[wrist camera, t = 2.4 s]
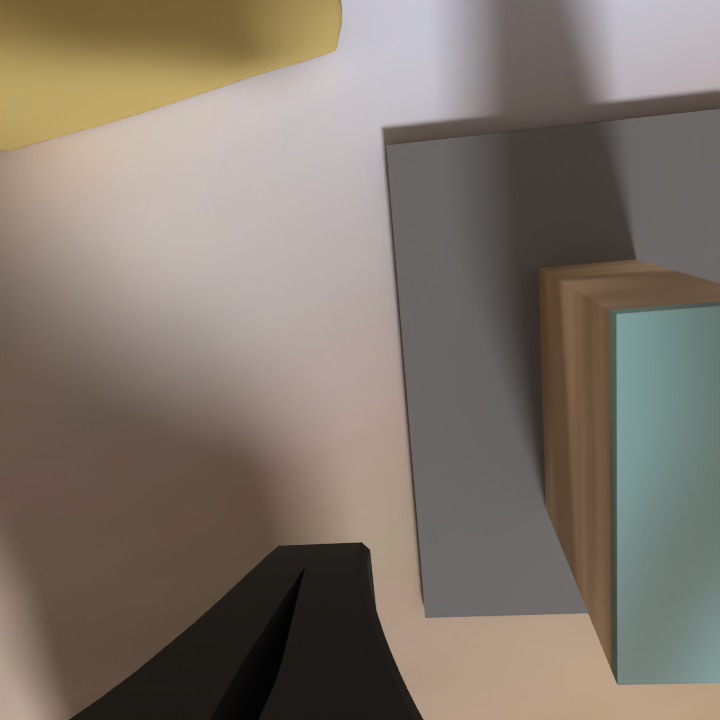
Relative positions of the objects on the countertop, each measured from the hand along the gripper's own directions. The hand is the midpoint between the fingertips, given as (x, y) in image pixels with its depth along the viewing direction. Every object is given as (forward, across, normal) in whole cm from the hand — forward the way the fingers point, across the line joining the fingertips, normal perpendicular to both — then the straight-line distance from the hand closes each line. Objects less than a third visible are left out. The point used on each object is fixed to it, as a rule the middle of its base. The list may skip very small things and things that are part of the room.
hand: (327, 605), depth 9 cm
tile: (+9, -6, 0) cm, 11 cm away
